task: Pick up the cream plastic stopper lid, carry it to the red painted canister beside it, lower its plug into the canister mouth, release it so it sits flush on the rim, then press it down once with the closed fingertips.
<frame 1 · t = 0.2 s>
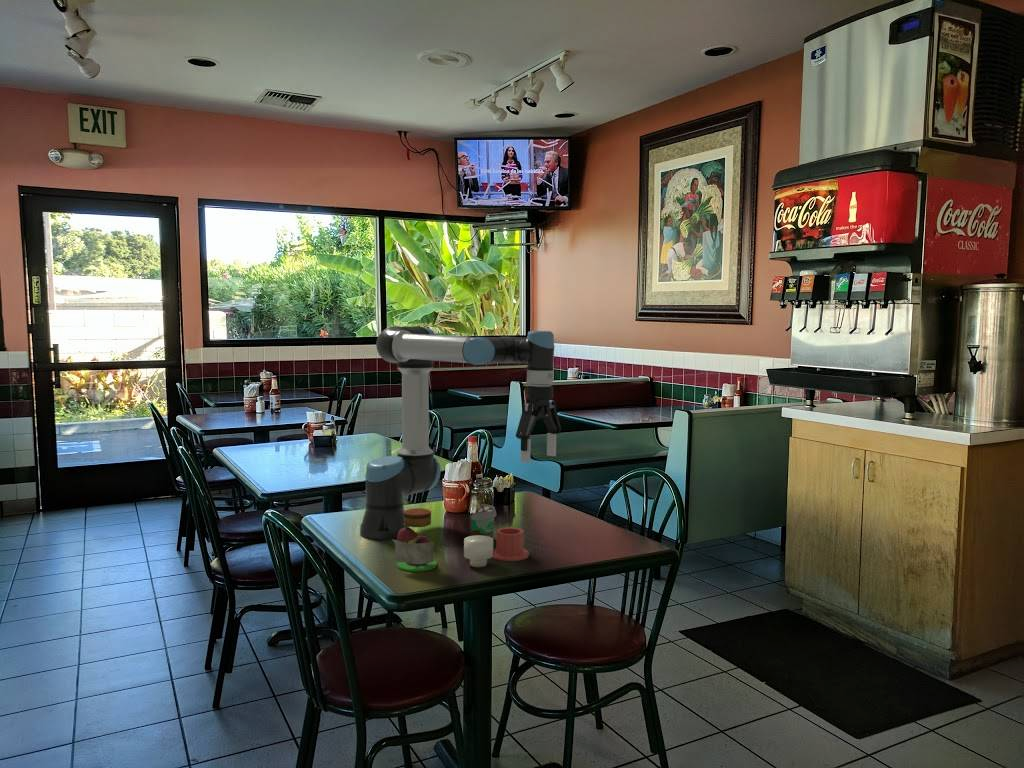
hand: (538, 459, 215), 27 cm above the table, fingers open, 13 cm apart
lid: (478, 564, 206), on the table
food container: (485, 541, 228), on the table
translucent plastic tub: (415, 566, 204), on the table
canister: (509, 555, 214), on the table
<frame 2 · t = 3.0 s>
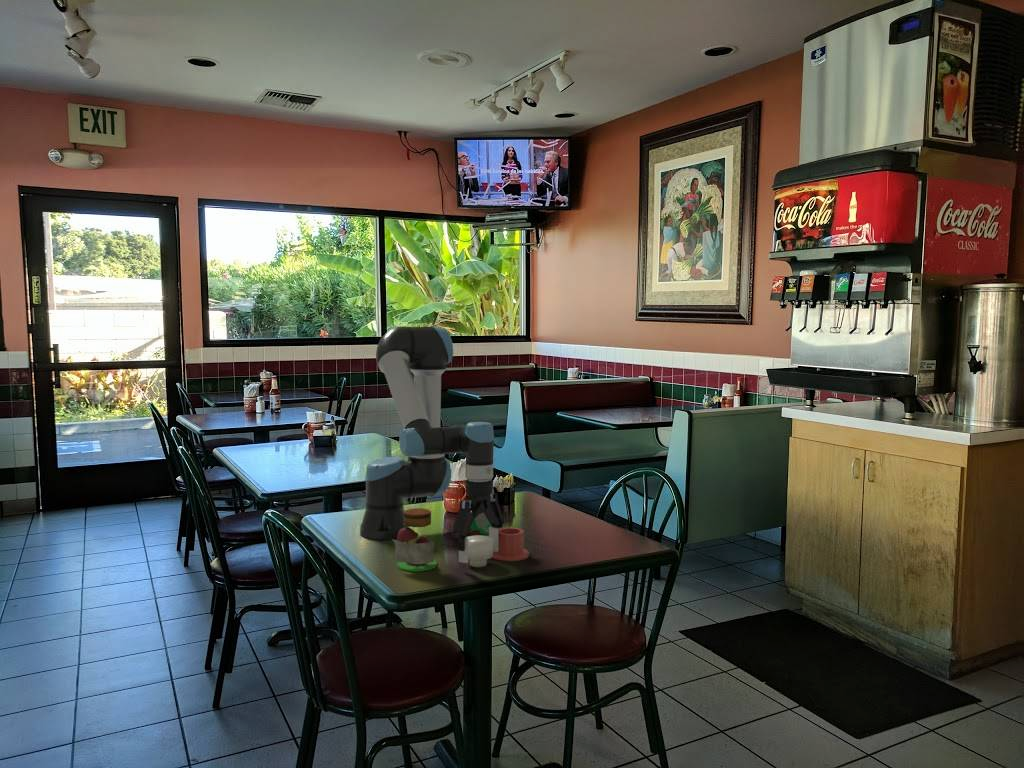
hand: (478, 556, 205), 2 cm above the table, fingers open, 13 cm apart
nothing on the table moved.
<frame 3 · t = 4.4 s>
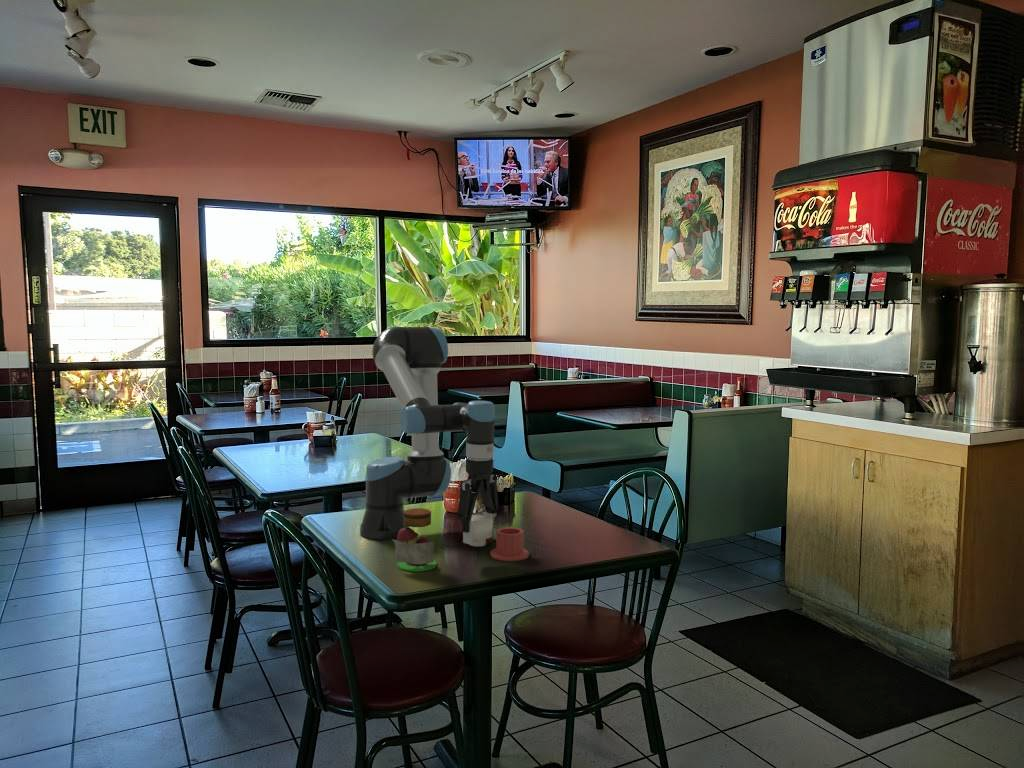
hand: (477, 539, 206), 7 cm above the table, fingers closed on lid, 8 cm apart
lid: (477, 543, 206), point 6 cm above the table, touching gripper
everything else where it was.
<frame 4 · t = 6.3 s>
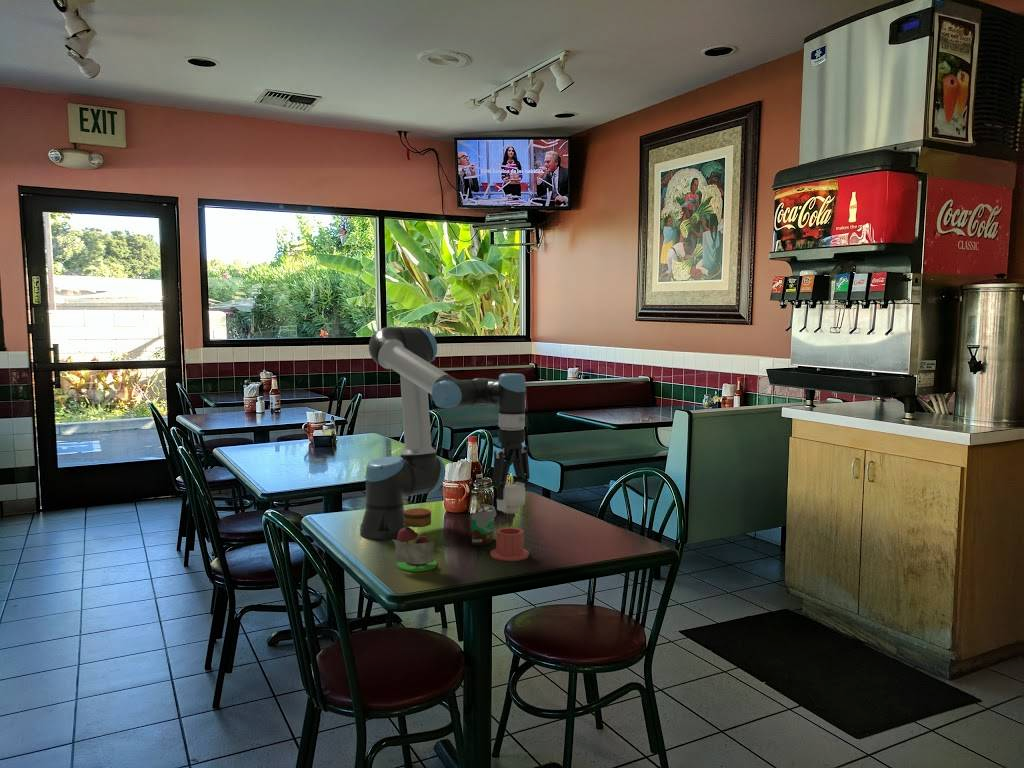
hand: (510, 507, 213), 14 cm above the table, fingers closed on lid, 8 cm apart
lid: (510, 511, 213), point 13 cm above the table, touching gripper
everything else where it was.
when the fingers open (6 cm above the table, at t = 8.1 s): lid stays where it is, resting on canister.
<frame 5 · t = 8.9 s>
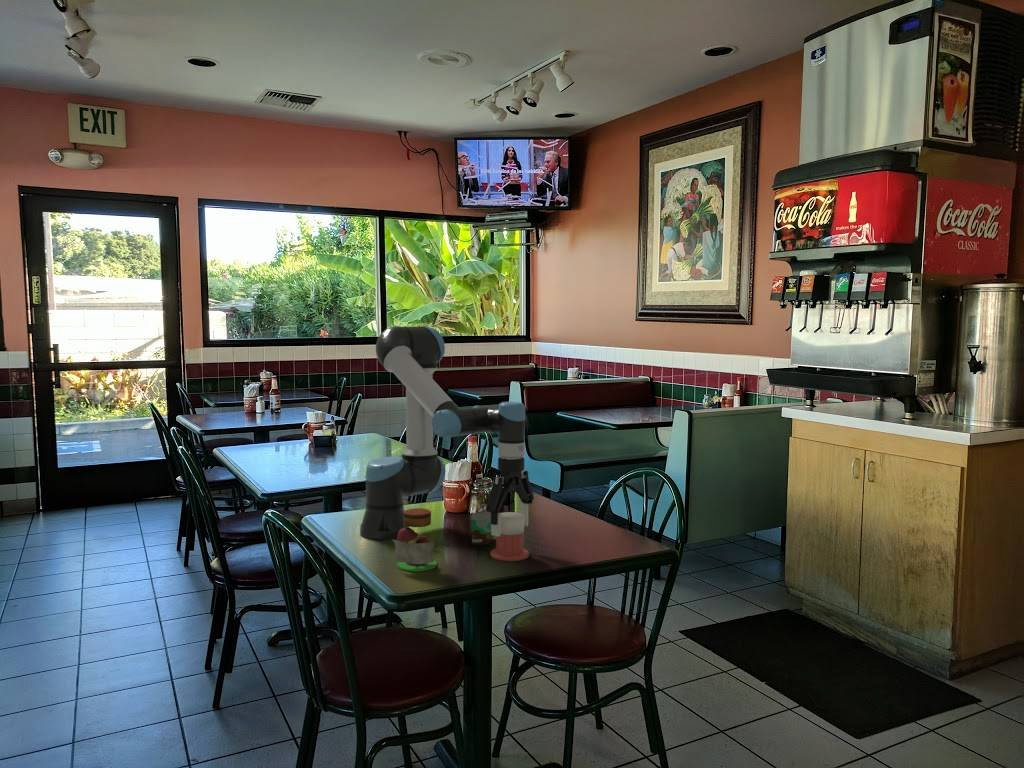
hand: (510, 530, 214), 7 cm above the table, fingers open, 13 cm apart
lid: (509, 539, 214), point 4 cm above the table, touching canister
everything else where it was.
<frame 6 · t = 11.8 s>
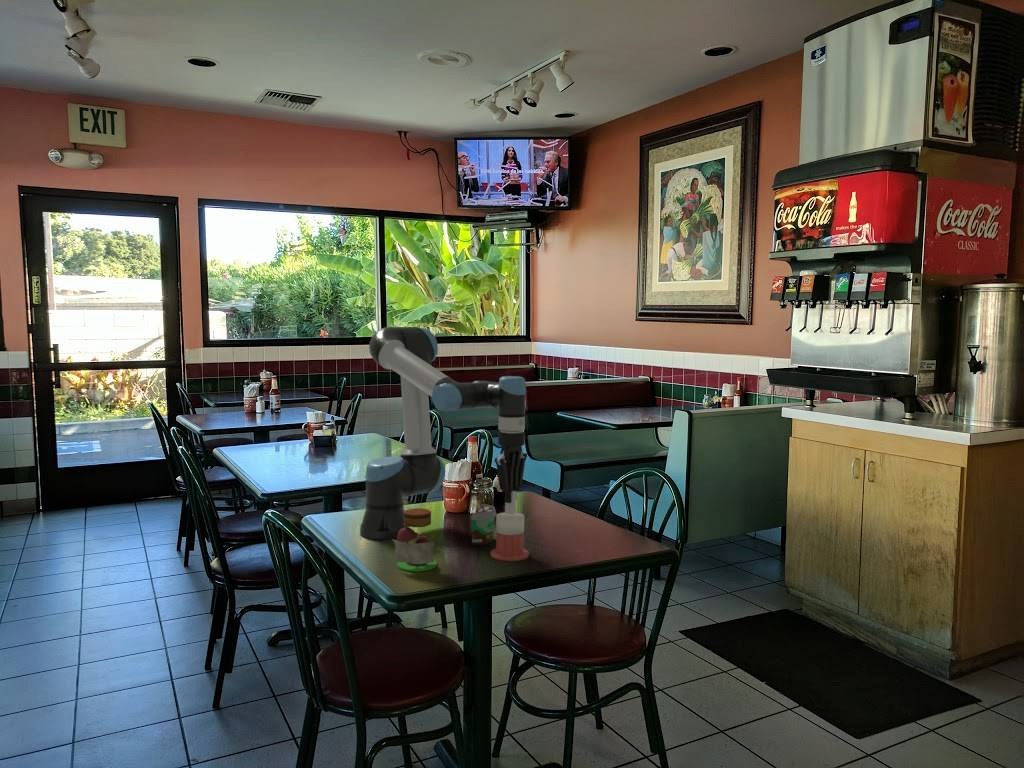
hand: (510, 513, 213), 12 cm above the table, fingers closed
nothing on the table moved.
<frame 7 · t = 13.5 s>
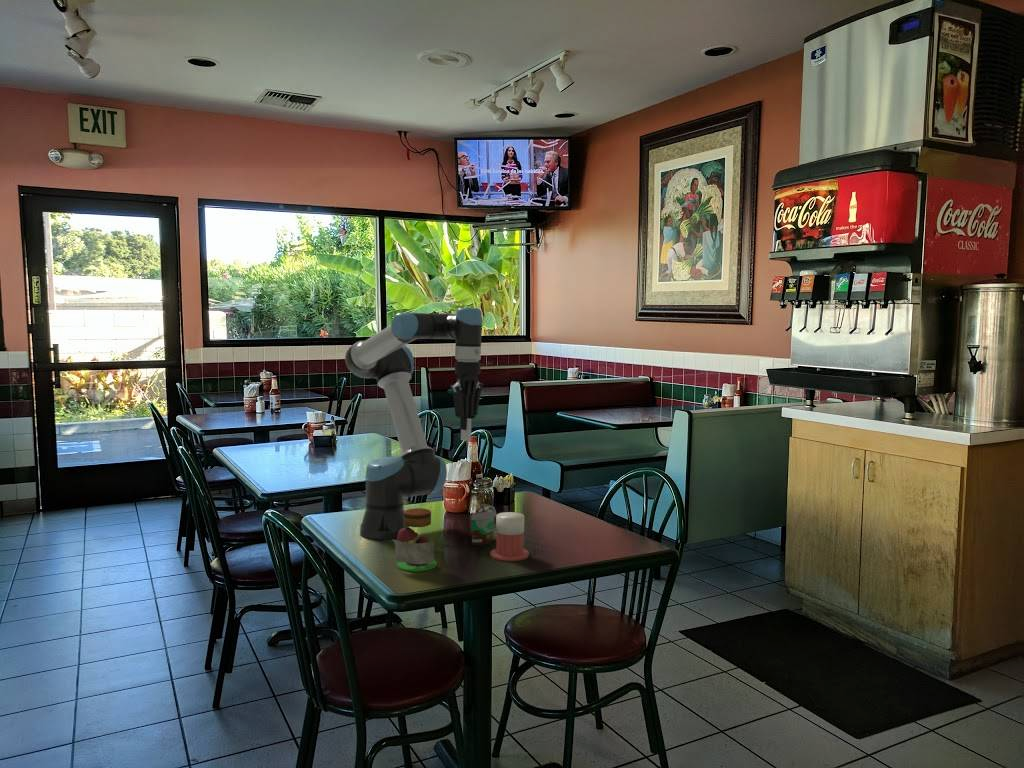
hand: (465, 440, 222), 31 cm above the table, fingers closed
nothing on the table moved.
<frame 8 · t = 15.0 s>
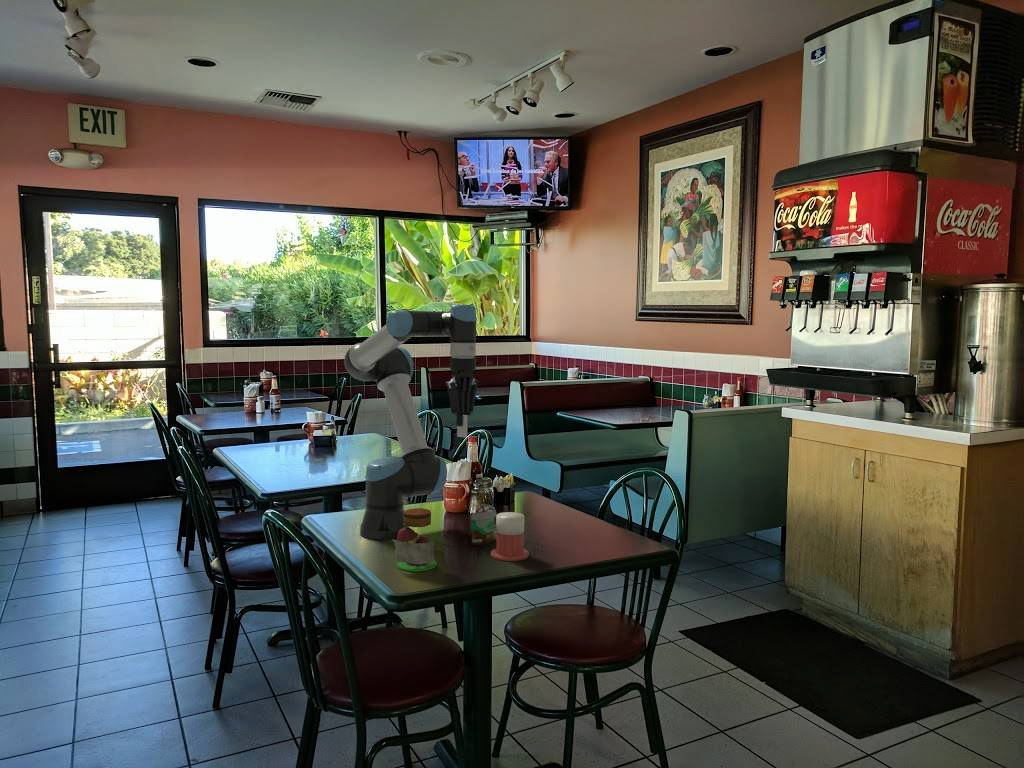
hand: (462, 436, 222), 32 cm above the table, fingers closed
nothing on the table moved.
at the end: lid 0.0 cm off-centre on the canister, point 4.5 cm above the canister's base; lid tilted 0°; the gripper is holding nothing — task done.
